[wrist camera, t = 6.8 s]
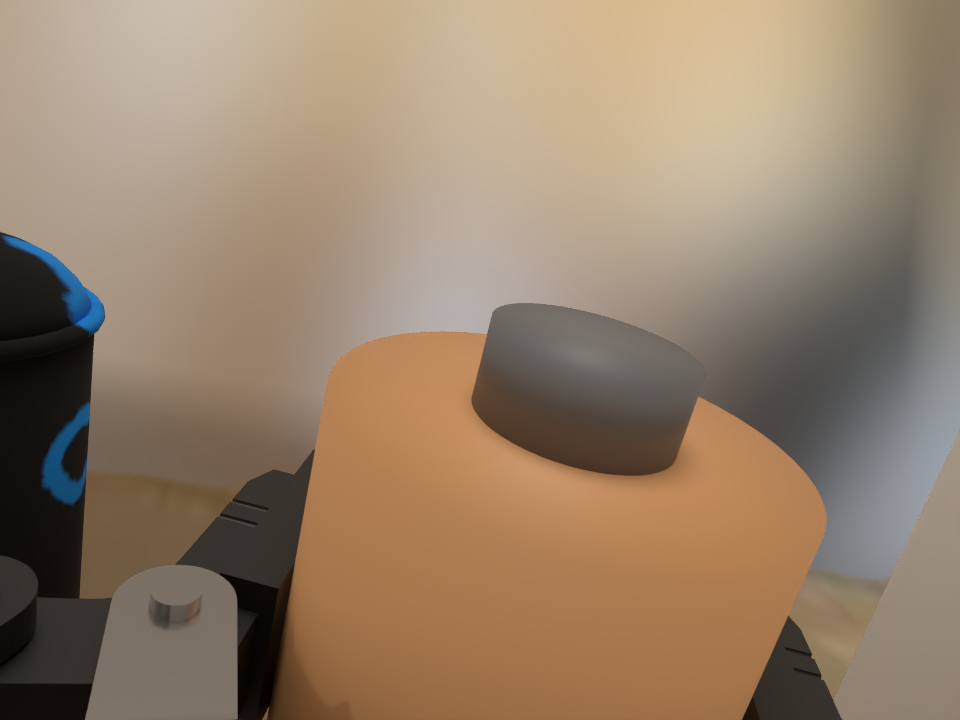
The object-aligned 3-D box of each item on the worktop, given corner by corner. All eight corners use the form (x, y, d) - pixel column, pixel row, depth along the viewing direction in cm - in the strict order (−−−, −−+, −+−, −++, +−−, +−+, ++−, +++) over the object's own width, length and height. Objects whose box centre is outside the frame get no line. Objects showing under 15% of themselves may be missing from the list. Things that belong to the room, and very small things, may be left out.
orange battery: (203, 1248, 8) (370, 428, 5) (236, 790, 13) (330, 238, 10) (656, 1156, 10) (1004, 496, 7) (532, 780, 15) (694, 303, 12)
